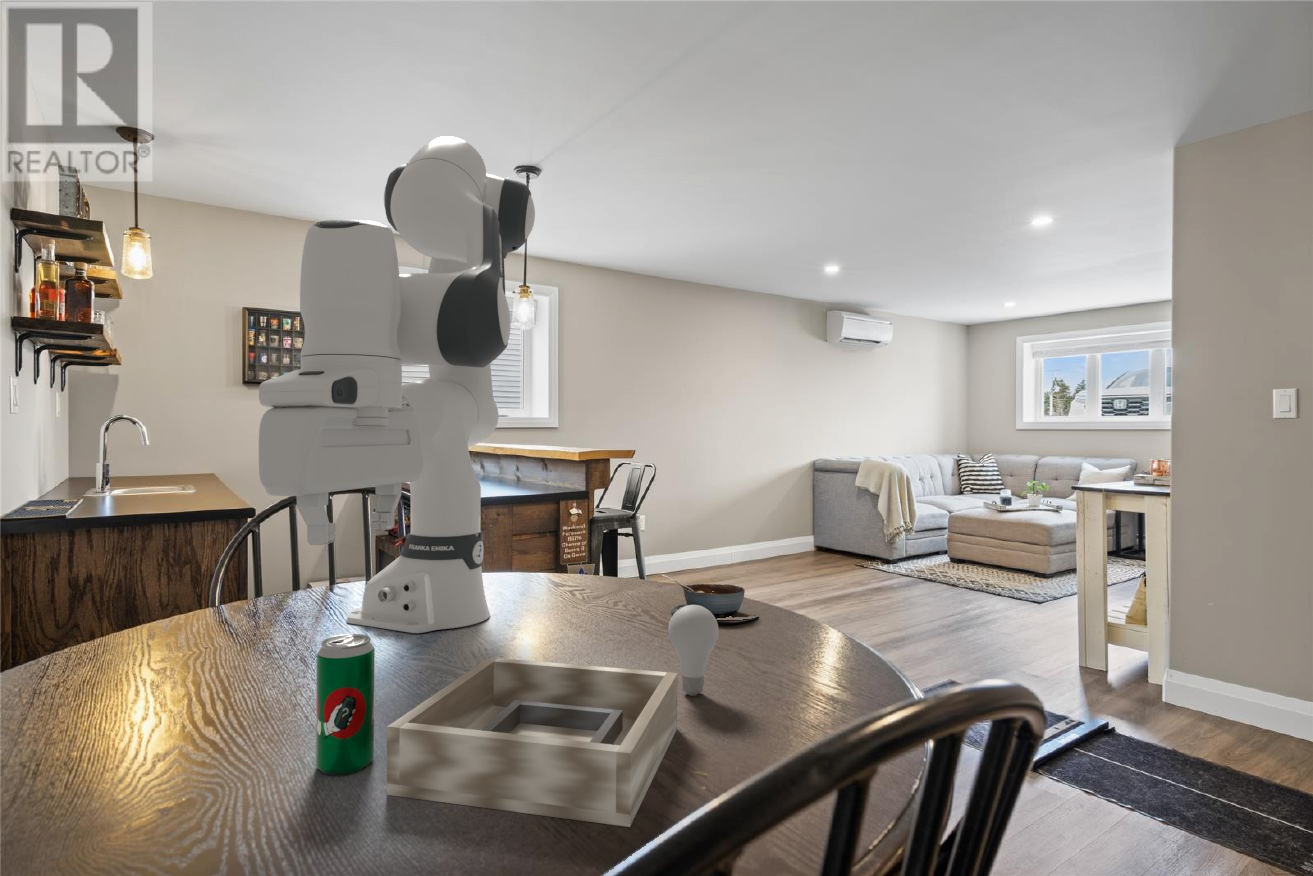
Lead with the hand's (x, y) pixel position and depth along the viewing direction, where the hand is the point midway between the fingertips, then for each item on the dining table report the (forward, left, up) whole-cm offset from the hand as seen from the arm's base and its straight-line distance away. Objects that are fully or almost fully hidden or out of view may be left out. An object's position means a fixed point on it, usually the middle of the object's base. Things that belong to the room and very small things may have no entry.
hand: (354, 536), depth 69 cm
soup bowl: (+25, +63, -22) cm, 71 cm away
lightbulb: (+28, +26, -22) cm, 44 cm away
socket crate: (+17, +6, -22) cm, 28 cm away
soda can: (-1, 0, -22) cm, 22 cm away
